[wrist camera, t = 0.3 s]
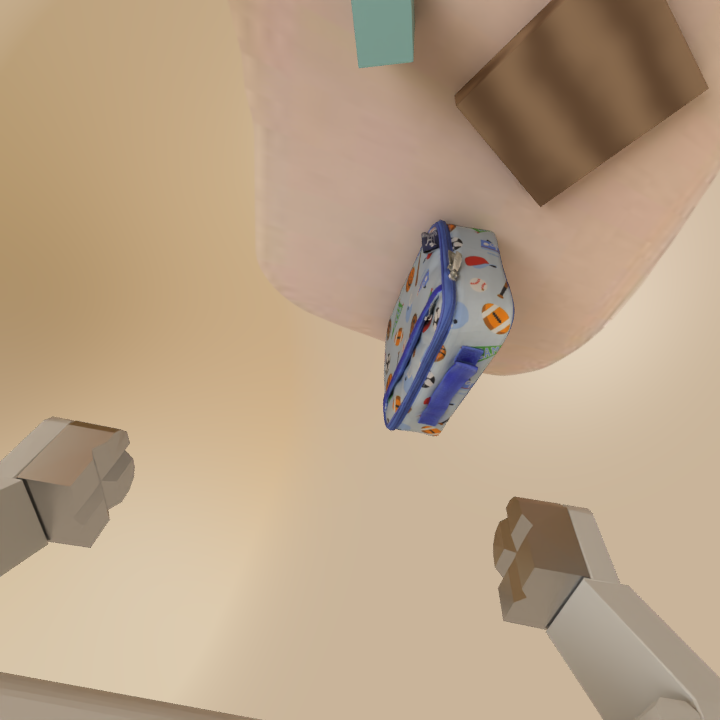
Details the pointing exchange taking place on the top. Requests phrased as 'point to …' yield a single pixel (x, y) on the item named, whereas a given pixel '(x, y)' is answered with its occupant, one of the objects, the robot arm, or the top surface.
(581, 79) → the walnut riser
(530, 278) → the top surface
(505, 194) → the top surface
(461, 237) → the lunch box
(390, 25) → the teal block
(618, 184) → the top surface
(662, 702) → the robot arm
